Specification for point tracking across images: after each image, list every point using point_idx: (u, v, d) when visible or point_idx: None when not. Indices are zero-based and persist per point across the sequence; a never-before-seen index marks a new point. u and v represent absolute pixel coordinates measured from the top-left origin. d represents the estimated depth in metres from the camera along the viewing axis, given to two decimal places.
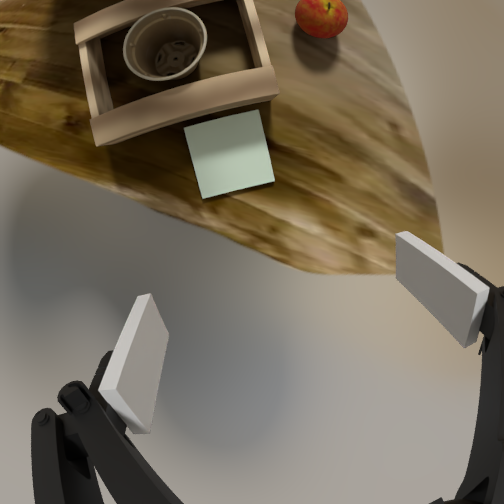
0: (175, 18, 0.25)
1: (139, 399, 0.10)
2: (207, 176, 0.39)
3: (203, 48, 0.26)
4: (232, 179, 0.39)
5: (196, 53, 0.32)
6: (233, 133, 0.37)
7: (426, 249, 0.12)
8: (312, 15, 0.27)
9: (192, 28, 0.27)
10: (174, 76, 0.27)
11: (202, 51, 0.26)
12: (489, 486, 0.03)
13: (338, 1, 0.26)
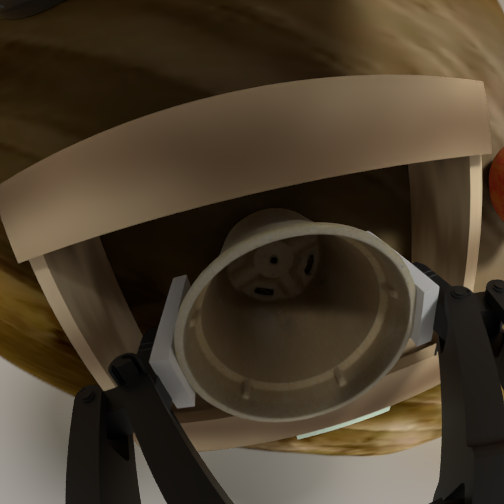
0: None
1: None
2: None
3: (397, 358, 0.11)
4: None
5: (318, 247, 0.18)
6: None
7: None
8: None
9: (357, 254, 0.12)
10: (321, 414, 0.12)
11: (392, 364, 0.11)
12: (466, 493, 0.03)
13: None
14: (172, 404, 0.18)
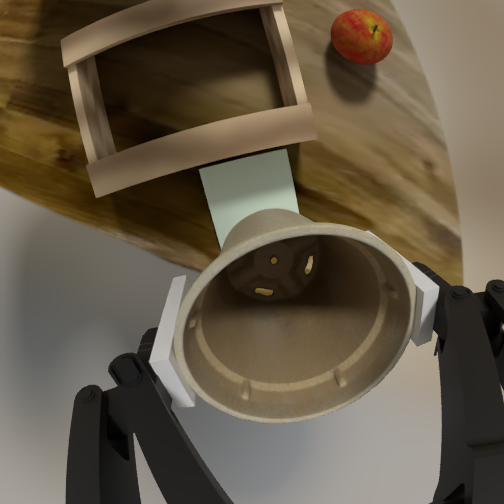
0: None
1: None
2: (227, 225, 0.35)
3: (397, 359, 0.11)
4: None
5: (318, 247, 0.18)
6: (257, 177, 0.33)
7: None
8: (355, 38, 0.23)
9: (358, 254, 0.12)
10: (321, 414, 0.12)
11: (392, 365, 0.11)
12: (466, 493, 0.03)
13: (384, 22, 0.21)
14: None
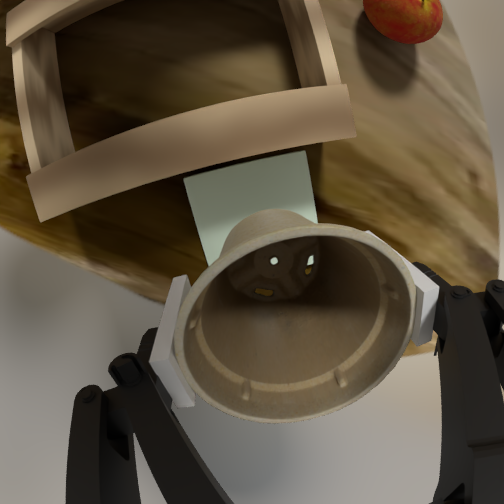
0: None
1: None
2: None
3: (397, 359, 0.11)
4: None
5: (318, 248, 0.18)
6: (264, 189, 0.24)
7: None
8: (400, 5, 0.14)
9: (358, 255, 0.12)
10: (321, 415, 0.12)
11: (393, 365, 0.11)
12: (466, 493, 0.03)
13: None
14: None
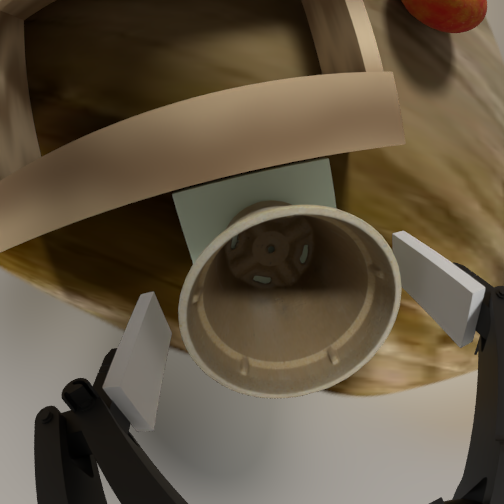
0: None
1: (143, 397, 0.10)
2: None
3: (385, 336, 0.12)
4: None
5: (312, 237, 0.19)
6: None
7: (422, 249, 0.12)
8: None
9: (346, 238, 0.13)
10: (315, 391, 0.13)
11: (381, 342, 0.13)
12: (487, 486, 0.03)
13: None
14: None
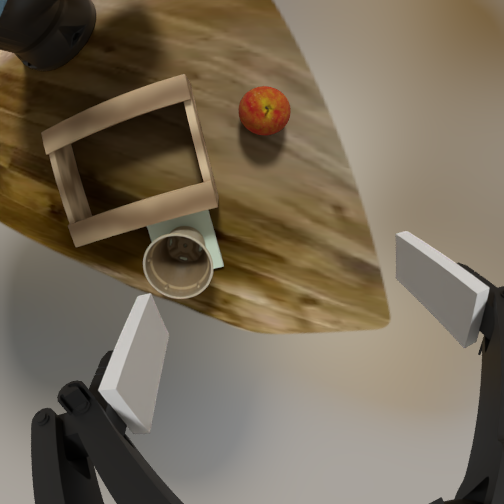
0: None
1: (139, 399, 0.10)
2: None
3: (211, 276, 0.39)
4: None
5: None
6: None
7: (426, 249, 0.12)
8: (251, 119, 0.35)
9: None
10: (190, 296, 0.40)
11: (210, 278, 0.39)
12: (489, 486, 0.03)
13: (279, 98, 0.34)
14: None
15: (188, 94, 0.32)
